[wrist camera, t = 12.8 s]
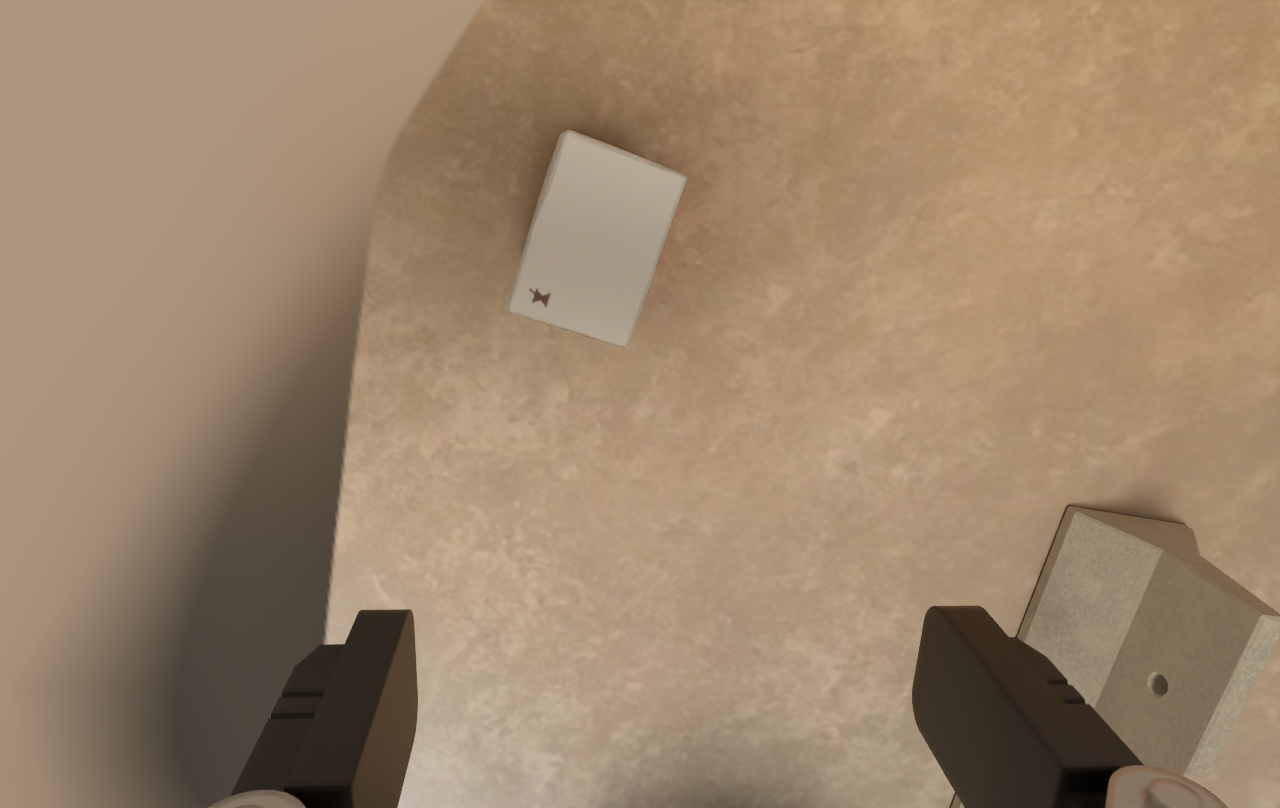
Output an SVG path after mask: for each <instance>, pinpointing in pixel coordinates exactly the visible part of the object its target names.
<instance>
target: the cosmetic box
mask: <svg viewBox="0 0 1280 808" xmlns="http://www.w3.org/2000/svg"><path fill="white" fill-rule="evenodd" d="M686 181H687V177H686V176H685V175H684V174H682V173H680V172H677V171H675V170H672V169H670V168H667V167H665V166H662V165H660V164H657V163H655V162H652V161H650V160H647V159H645V158H642V157H640V156H637V155H635V154H632V153H630V152H627V151H625V150H622V149H620V148H617V147H615V146H612V145H609V144H607V143H604V142H602V141H599V140H596V139H593V138H591V137H588V136H585V135H583V134H580V133H577V132H575V131H572V130H567V131H565V132H562V133H561V135H560V137H559V139H558V142H557V145H556V148H555V150H554V153H553V156H552V159H551V162H550V165H549V168H548V171H547V174H546V177H545V180H544V183H543V186H542V190H541V193H540V196H539V199H538V203H537V206H536V209H535V212H534V216H533V219H532V222H531V226H530V229H529V232H528V236H527V239H526V242H525V246H524V249H523V253H522V256H521V259H520V263H519V267H518V270H517V274H516V278H515V281H514V284H513V288H512V291H511V294H510V297H509V302H508V312H509V313H510V314H514V315H518V316H521V317H524V318H528V319H531V320H534V321H538V322H541V323H544V324H548V325H551V326H554V327H558V328H561V329H564V330H567V331H571V332H574V333H577V334H580V335H584V336H587V337H590V338H593V339H597V340H600V341H603V342H606V343H609V344H613V345H616V346H619V347H623V348H625V347H627V346H628V344H629V341H630V338H631V336H632V333H633V330H634V328H635V325H636V323H637V320H638V318H639V315H640V313H641V310H642V307H643V304H644V302H645V299H646V296H647V293H648V291H649V288H650V285H651V282H652V278H653V275H654V272H655V269H656V266H657V263H658V260H659V257H660V254H661V251H662V248H663V246H664V243H665V240H666V237H667V234H668V231H669V229H670V226H671V223H672V220H673V217H674V214H675V211H676V209H677V206H678V203H679V200H680V197H681V194H682V191H683V188H684V186H685V183H686Z"/></svg>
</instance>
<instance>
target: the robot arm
mask: <svg viewBox="0 0 1280 808" xmlns="http://www.w3.org/2000/svg"><path fill="white" fill-rule="evenodd" d="M912 704H913V711H914V716H915V720H916V723H917V726H918V728H919V730H920V732H921V734H922V736H923V737H924V739H925V741H926V743H927V744H928V746H929V748H930V749H931V751H932V753H933V755H934V756H935V758H936V760H937V761H938V763H939V765H940V767H941V768H942V770H943V772H944V774H945V775H946V777H947V779H948V780H949V782H950V784H951V786H952V787H953V789H954V791H955V792H956V794H957V796H958V798H959V799H960V801H961V803H962V804H963V806H964V808H1228V807H1227V806H1226V805H1225V804H1224V803H1223V802H1222V801H1221V800H1220V799H1219V798H1217V797H1216V796H1215V795H1214V794H1212V793H1211V792H1210V791H1208V790H1207V789H1206V788H1204V787H1202V786H1201V785H1199V784H1197V783H1196V782H1194V781H1192V780H1190V779H1188V778H1186V777H1184V776H1181V775H1179V774H1176V773H1174V772H1171V771H1168V770H1165V769H1161V768H1156V767H1152V766H1145V765H1144V764H1143V763H1142V762H1141V761H1140V760H1139V759H1138V758H1137V756H1136V755H1135V754H1134V753H1133V752H1132V751H1131V750H1130V749H1129V748H1128V746H1127V745H1126V744H1125V743H1124V742H1123V741H1122V740H1121V739H1120V738H1119V736H1118V735H1117V734H1116V733H1115V732H1114V731H1113V730H1112V729H1111V728H1110V726H1109V725H1108V724H1107V723H1106V722H1105V721H1104V720H1103V719H1102V718H1101V716H1100V715H1099V714H1098V713H1097V712H1096V711H1095V710H1094V709H1093V708H1092V707H1091V705H1090V704H1086V703H1085V699H1084V698H1083V697H1082V695H1081V694H1080V693H1079V692H1078V691H1077V690H1076V689H1075V688H1074V687H1073V685H1068V680H1067V679H1066V678H1065V677H1064V675H1063V674H1062V673H1061V672H1060V671H1059V670H1058V669H1057V668H1056V667H1055V665H1054V664H1053V663H1052V662H1051V661H1050V660H1049V659H1048V658H1047V657H1046V656H1044V655H1043V654H1041V653H1040V652H1038V651H1037V650H1035V649H1034V648H1032V647H1031V646H1029V645H1027V644H1026V643H1024V642H1023V641H1021V640H1020V639H1018V638H1017V637H1008V636H1007V635H1006V633H1005V632H1004V631H1003V630H1002V629H1001V628H1000V626H999V625H998V624H997V623H996V622H995V621H994V620H993V618H992V617H991V616H990V615H989V614H988V613H987V611H986V610H985V609H984V608H982V607H980V606H932V607H931V608H929V610H928V611H927V613H926V616H925V619H924V624H923V630H922V636H921V642H920V647H919V653H918V659H917V665H916V671H915V676H914V682H913V689H912ZM417 710H418V692H417V672H416V652H415V632H414V618H413V613H412V611H411V610H361V611H359V613H358V615H357V617H356V619H355V622H354V624H353V626H352V629H351V631H350V633H349V636H348V638H347V640H346V643H345V644H340V645H320V646H319V647H317V648H316V649H315V650H314V651H313V652H312V653H310V654H309V655H308V656H307V657H306V658H305V659H303V660H302V661H301V662H300V663H299V664H298V665H296V666H295V668H294V670H293V672H292V674H291V676H290V677H289V679H288V682H287V684H286V685H285V687H284V689H283V691H282V697H281V698H279V699H278V701H277V704H276V705H275V707H274V710H273V712H272V713H271V719H268V721H267V723H266V725H265V727H264V729H263V731H262V734H261V736H260V737H259V739H258V741H257V743H256V745H255V747H254V749H253V751H252V753H251V755H250V757H249V759H248V761H247V763H246V765H245V767H244V769H243V771H242V773H241V775H240V777H239V779H238V781H237V783H236V785H235V787H234V789H233V791H232V793H231V795H230V797H228V798H226V799H223V800H221V801H219V802H217V803H215V804H213V805H211V806H210V807H208V808H397V807H398V803H399V799H400V795H401V791H402V787H403V782H404V778H405V774H406V770H407V766H408V762H409V758H410V754H411V750H412V746H413V742H414V737H415V731H416V723H417Z"/></svg>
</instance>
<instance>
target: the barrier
mask: <svg viewBox="0 0 1280 808" xmlns="http://www.w3.org/2000/svg"><path fill="white" fill-rule="evenodd" d="M1279 634H1280V614H1279V613H1278V612H1276V611H1275V610H1274V609H1272V608H1271V607H1270V606H1268V605H1267V604H1265V603H1264V602H1263V601H1261V600H1260V599H1259V598H1257V597H1256V596H1255V595H1253V594H1252V593H1250V592H1249V591H1248V590H1246V589H1245V588H1244V587H1242V586H1241V585H1239V584H1238V583H1237V582H1235V581H1234V580H1233V579H1231V578H1230V577H1229V576H1227V575H1226V574H1224V573H1223V572H1222V571H1220V570H1219V569H1218V568H1216V567H1215V566H1214V565H1212V564H1211V563H1209V562H1208V561H1207V560H1205V559H1204V558H1203V557H1201V555H1200V551H1199V548H1198V544H1197V540H1196V537H1195V533H1194V531H1193V530H1192V529H1191V528H1189V527H1188V526H1186V525H1184V524H1178V523H1172V522H1166V521H1160V520H1153V519H1147V518H1141V517H1135V516H1129V515H1122V514H1116V513H1110V512H1104V511H1098V510H1091V509H1085V508H1079V507H1073V506H1069V507H1068V508H1067V510H1066V512H1065V515H1064V517H1063V520H1062V522H1061V525H1060V528H1059V530H1058V533H1057V535H1056V538H1055V541H1054V543H1053V546H1052V548H1051V551H1050V553H1049V556H1048V559H1047V561H1046V564H1045V566H1044V569H1043V571H1042V574H1041V577H1040V579H1039V582H1038V584H1037V587H1036V590H1035V592H1034V595H1033V597H1032V600H1031V602H1030V605H1029V608H1028V610H1027V613H1026V615H1025V618H1024V620H1023V623H1022V626H1021V628H1020V631H1019V633H1018V636H1017V638H1018V639H1020V640H1021V641H1023V642H1024V643H1026V644H1027V645H1029V646H1031V647H1032V648H1034V649H1035V650H1037V651H1038V652H1040V653H1041V654H1043V655H1044V656H1046V657H1047V658H1048V659H1049V660H1050V661H1051V662H1052V663H1053V664H1054V665H1055V667H1056V668H1057V669H1058V670H1059V671H1060V672H1061V673H1062V674H1063V675H1064V677H1065V678H1066V679H1067V680H1068V685H1073V687H1074V688H1075V689H1076V690H1077V691H1078V692H1079V693H1080V694H1081V695H1082V697H1083V698H1084V699H1085V703H1086V704H1090V705H1091V707H1092V708H1093V709H1094V710H1095V711H1096V712H1097V713H1098V714H1099V715H1100V716H1101V718H1102V719H1103V720H1104V721H1105V722H1106V723H1107V724H1108V725H1109V726H1110V728H1111V729H1112V730H1113V731H1114V732H1115V733H1116V734H1117V735H1118V736H1119V738H1120V739H1121V740H1122V741H1123V742H1124V743H1125V744H1126V745H1127V746H1128V748H1129V749H1130V750H1131V751H1132V752H1133V753H1134V754H1135V755H1136V756H1137V758H1138V759H1139V760H1140V761H1141V762H1142V763H1143V764H1144V765H1145V766H1152V767H1156V768H1161V769H1165V770H1168V771H1171V772H1174V773H1176V774H1179V775H1181V776H1184V777H1186V778H1188V779H1190V780H1192V781H1194V782H1196V783H1197V784H1199V785H1201V786H1202V787H1204V785H1205V783H1206V781H1207V779H1208V777H1209V775H1210V773H1211V771H1212V769H1213V767H1214V765H1215V763H1216V761H1217V759H1218V757H1219V755H1220V753H1221V751H1222V749H1223V747H1224V745H1225V743H1226V741H1227V739H1228V737H1229V735H1230V733H1231V731H1232V729H1233V727H1234V725H1235V723H1236V721H1237V719H1238V717H1239V715H1240V713H1241V711H1242V709H1243V707H1244V705H1245V703H1246V701H1247V698H1248V696H1249V694H1250V692H1251V690H1252V688H1253V686H1254V684H1255V682H1256V680H1257V678H1258V676H1259V674H1260V672H1261V670H1262V668H1263V666H1264V664H1265V662H1266V660H1267V658H1268V656H1269V654H1270V652H1271V650H1272V648H1273V646H1274V644H1275V642H1276V640H1277V638H1278V636H1279ZM951 808H964V806H963V804H962V803H961V801H960V799H959V798H958V796H957V794H956V796H955V798H954V801H953V803H952V806H951Z"/></svg>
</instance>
